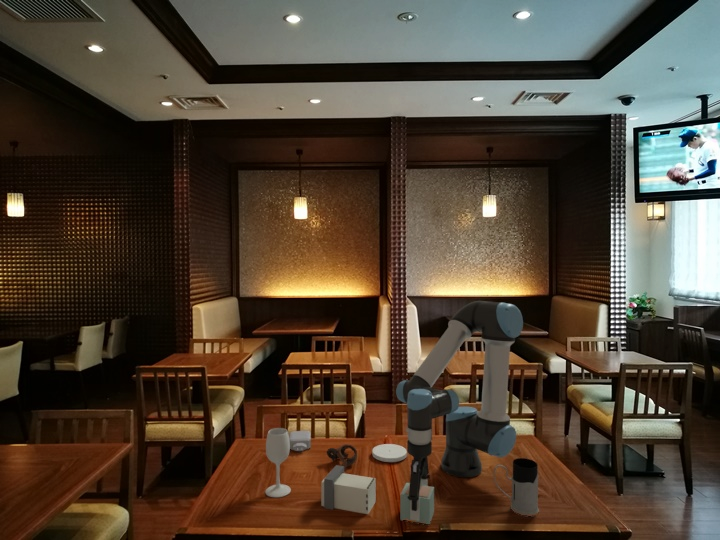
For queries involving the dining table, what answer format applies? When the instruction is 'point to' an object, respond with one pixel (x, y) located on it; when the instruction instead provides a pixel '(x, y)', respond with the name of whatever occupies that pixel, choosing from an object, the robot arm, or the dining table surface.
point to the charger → (300, 440)
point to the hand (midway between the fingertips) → (419, 508)
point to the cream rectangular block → (348, 491)
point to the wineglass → (277, 458)
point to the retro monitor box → (425, 503)
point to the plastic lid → (389, 453)
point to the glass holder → (523, 486)
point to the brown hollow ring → (342, 455)
